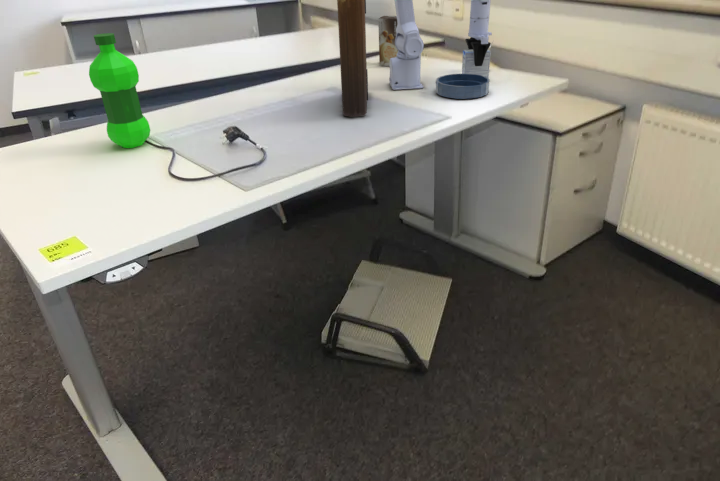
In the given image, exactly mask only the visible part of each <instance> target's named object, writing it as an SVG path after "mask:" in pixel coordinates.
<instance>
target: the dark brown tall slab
mask: <svg viewBox="0 0 720 481" xmlns="http://www.w3.org/2000/svg"><path fill="white" fill-rule="evenodd" d="M336 4H337V22H338V24H337V26H338V43H339V44H338V45H339V65H340V84H341V85H340V86H341V104H342V105H341V106H342V108H341V109H342V114H343V116H345V117H351V118H352V117H363V116H366V115H367V113H368V101H369V77H368V73H369V72H368V68H367V35H366V34H367V31H366V14H367V0H336Z"/></svg>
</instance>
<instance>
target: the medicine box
mask: <svg viewBox="0 0 720 481" xmlns="http://www.w3.org/2000/svg"><path fill="white" fill-rule="evenodd" d="M491 53H492V51H491V50H490V51H489V50H487V52H486V55H485V58H484V61H483V64H482V66H475V63H474V51H473V49H472V50H468V49H463V50H462V62H461V74H476V75H481V76H484V77H487V78H488V79H489V80H490V66H491Z"/></svg>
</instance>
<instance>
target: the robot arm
mask: <svg viewBox="0 0 720 481" xmlns="http://www.w3.org/2000/svg"><path fill="white" fill-rule="evenodd" d="M413 1H414V0H394V6H395V7H394V8H395V14H396V15H395V16H397V22H398V25H397V28H396V39H395V46H396V48H397V50H398V53H397V57H395V58H390V66H389V79H388V80H389V83H388V84H389V86H390V88H391V89H392V90H393V91H396V90H397V91H399V90H400V91H401V90H415V89H417V90H418V89H424V85H423V84H422V83H421V64H422V53H423V51H424V47H425V45H424V40H423V39H422V38H421V36H420V30H419V27H418V26H417V25H418V24H417V23H416V17H415V9H414V2H413ZM469 12H470V13H469V24H468V25H469V26H468V33H467V35H468V38H465V43H466V46H467V50H472V49H473V51H474V63H475V66H482V64H483V61H484V58H485V55H486V52H487V50H488V48H489V47H490V45H491V44H492V43H491V42H490V41H489V40H490V36H492V34H493V33H492V31H489V25H490V14H491V13H490V12H491V0H470V10H469ZM469 37H470V38H469ZM491 46H492V45H491Z"/></svg>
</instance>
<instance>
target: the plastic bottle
mask: <svg viewBox="0 0 720 481" xmlns="http://www.w3.org/2000/svg"><path fill="white" fill-rule="evenodd" d="M93 38H94V42H95V46H98V47H99V48H98V49H99V52H98V54H97V55H96V56H95V57H94V59H93V60H92V62H91V63H90V64H89V68H88V69H89V70H88V76H89V78H90V80H89V81H90V82H91V84H92V86H93V88H95V89H96V90H98V91H99V92H100V96H101V101H102V104H103V107H104V111H105V114H106V117H107V123H106V133H107V137H108V139H110V141H111V142H112V143H114V144H115V145H117V146H120V147H121V148H124V149H134V148H138V147H141V146H143V145H144V143H146V141H147V140H148V138H150V135H151V127H150V123H149V121H148V120H147V118H146V117H145V116H144V114H143V111H142V107H141V103H140V99H139V95H138V91H137V87H136V86H137V85H138V83H139V82H140V77H139V76H140V74H139V70H138V67H137V65H136V64H135V62H134V60H132V59H131V58H129V57H128V56H127V55H125V54H123V53H121V52H120V51H118V50H117V49H116V47H115V44H117V41H116V36H115V33H114V32H113V33H112V32H107V33H106V32H105V33H103V32H102V33H97V34H94V35H93Z"/></svg>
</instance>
